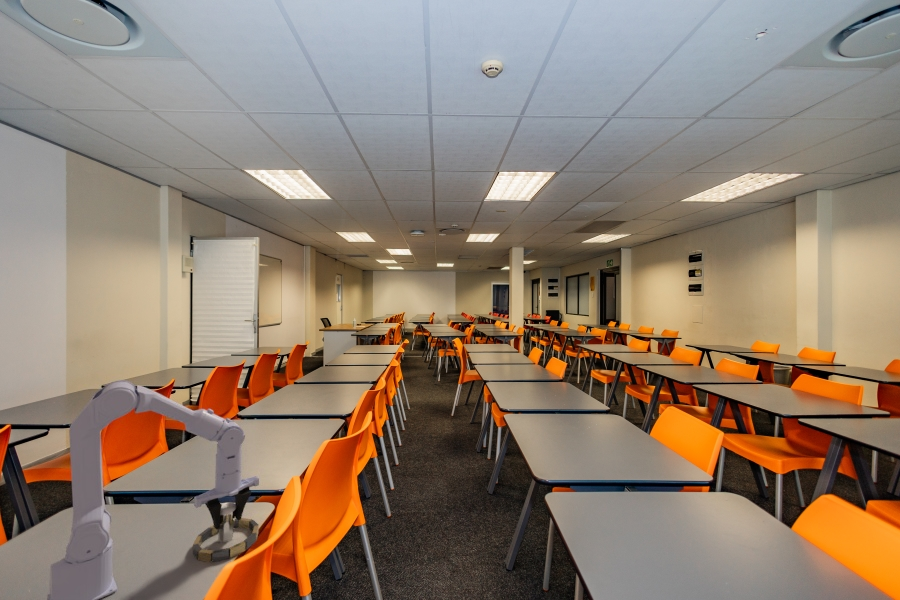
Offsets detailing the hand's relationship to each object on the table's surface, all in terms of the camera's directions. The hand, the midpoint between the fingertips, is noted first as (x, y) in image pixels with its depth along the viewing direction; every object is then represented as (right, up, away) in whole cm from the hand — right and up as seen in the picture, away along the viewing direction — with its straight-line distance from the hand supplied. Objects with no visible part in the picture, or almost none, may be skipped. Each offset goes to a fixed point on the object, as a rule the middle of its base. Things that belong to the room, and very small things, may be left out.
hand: (227, 522), depth 93 cm
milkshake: (-1, -5, +1) cm, 5 cm away
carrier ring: (0, -5, 0) cm, 5 cm away
